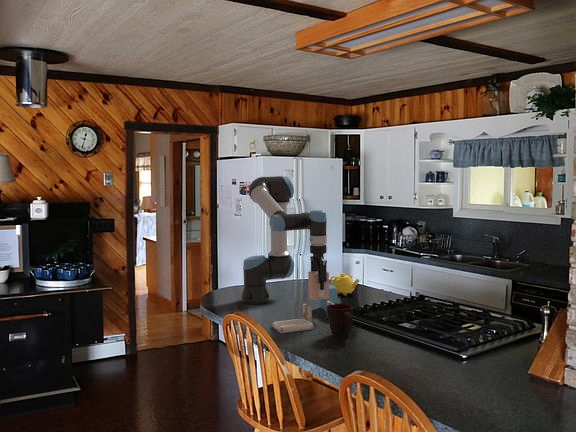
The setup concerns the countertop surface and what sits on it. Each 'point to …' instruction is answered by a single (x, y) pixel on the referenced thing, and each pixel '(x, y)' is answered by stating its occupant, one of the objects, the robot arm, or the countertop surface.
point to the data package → (331, 298)
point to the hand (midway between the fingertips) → (318, 295)
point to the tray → (292, 325)
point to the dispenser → (310, 311)
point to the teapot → (344, 283)
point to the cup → (340, 319)
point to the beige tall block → (313, 286)
